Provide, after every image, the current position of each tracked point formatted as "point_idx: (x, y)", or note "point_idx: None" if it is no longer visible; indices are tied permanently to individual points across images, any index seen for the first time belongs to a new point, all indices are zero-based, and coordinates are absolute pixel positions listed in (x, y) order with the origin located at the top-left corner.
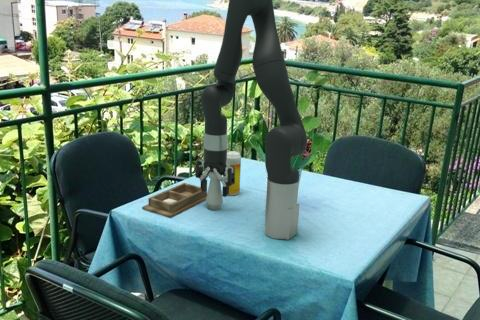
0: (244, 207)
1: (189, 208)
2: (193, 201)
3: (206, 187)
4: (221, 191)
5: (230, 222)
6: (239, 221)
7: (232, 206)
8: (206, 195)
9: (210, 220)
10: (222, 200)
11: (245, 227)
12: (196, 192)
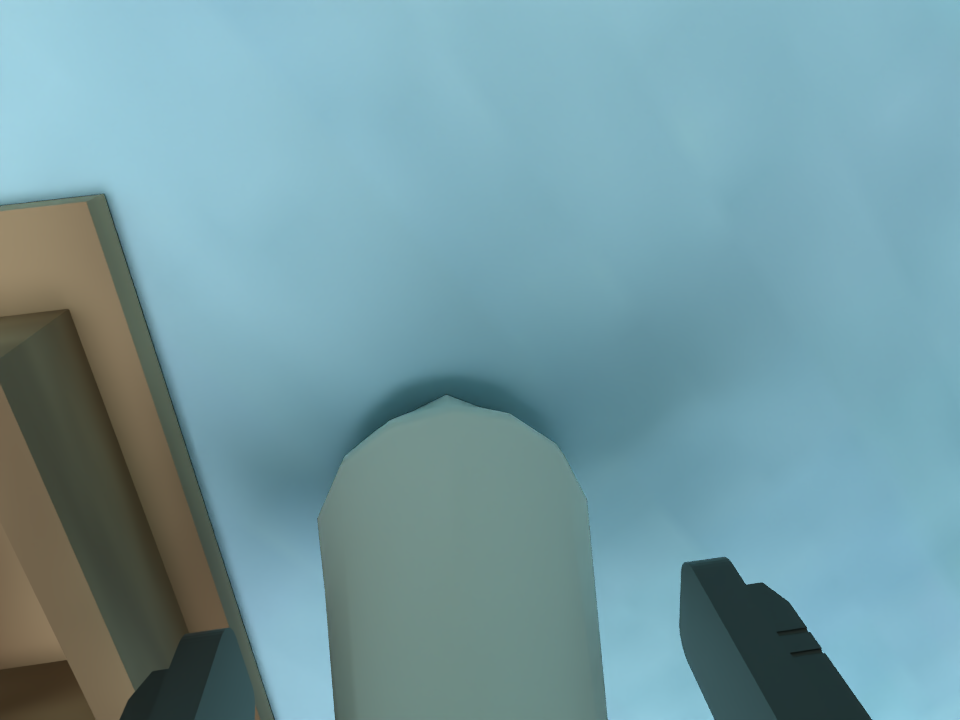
0: (782, 164)
1: (257, 672)
2: (171, 614)
3: (215, 671)
4: (579, 592)
5: (838, 605)
6: (912, 533)
7: (614, 264)
8: (66, 323)
9: (644, 696)
10: (574, 486)
11: None
12: (56, 607)
